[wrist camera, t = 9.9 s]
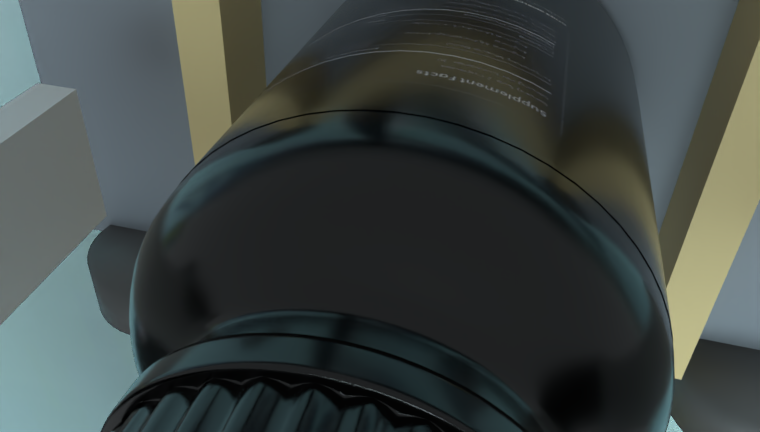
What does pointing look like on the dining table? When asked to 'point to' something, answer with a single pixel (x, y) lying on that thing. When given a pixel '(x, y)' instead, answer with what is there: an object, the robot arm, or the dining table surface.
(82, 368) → the dining table surface
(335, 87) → the supplement bottle
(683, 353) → the chassis
